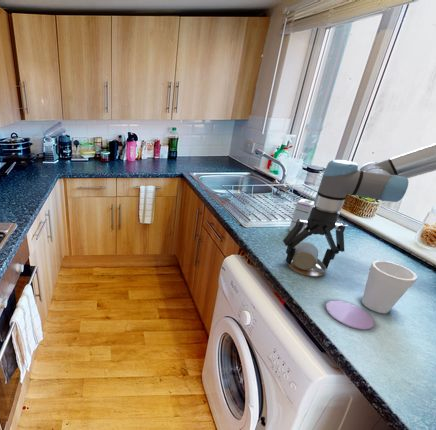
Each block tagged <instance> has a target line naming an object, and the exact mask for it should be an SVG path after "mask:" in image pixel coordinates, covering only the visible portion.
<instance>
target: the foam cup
mask: <svg viewBox="0 0 436 430" xmlns="http://www.w3.org/2000/svg"><path fill="white" fill-rule="evenodd" d="M368 270H369V271H368V276H367V279H366V283H365V286H364V287H365V288H364V290H363V294H362V298H361V304H363V305H364V306H365V307H366V308H367V309H369V310H371V311H373V312H375V313H380V314H388V313H389V312H390V311H391V310H392V309H393V308H394V307H395V305H396V304H397V303H398V301H400V299H401V298H402V297H403V296H404V295H405V294H406V292H407V291H408V290H409V289H410V288H411V287H413V286H414V284H415V282H416V281H417V280H418V276H417V274H416V272H414V271H412V270H411V269H410V268H408V267H405V266H404V265H401V264H398V263H395V262H392V261H388V260H382V259H381V260H374V261H372V262H371V264H370V267H369V269H368Z"/></svg>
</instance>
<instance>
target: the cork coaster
mask: <svg viewBox="0 0 436 430" xmlns="http://www.w3.org/2000/svg"><path fill="white" fill-rule="evenodd" d="M287 266H288V267H289V268H290V269H291V270H293V271H294V272H296V273H298V274H300V275H303V276H306V277H311V278H312V277H313V278H317V277H321V276H323V274H324V272H322V273H320V272H317V271H315V270H314V269H310V270H302V269H299V268H297V267H296V266H295V265H294V263H293V261H292V262H291V264H288V263H287ZM316 266H317V267H318V268H320V269H322V268H321V267H320V266H319V265H318V264H316Z"/></svg>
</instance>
